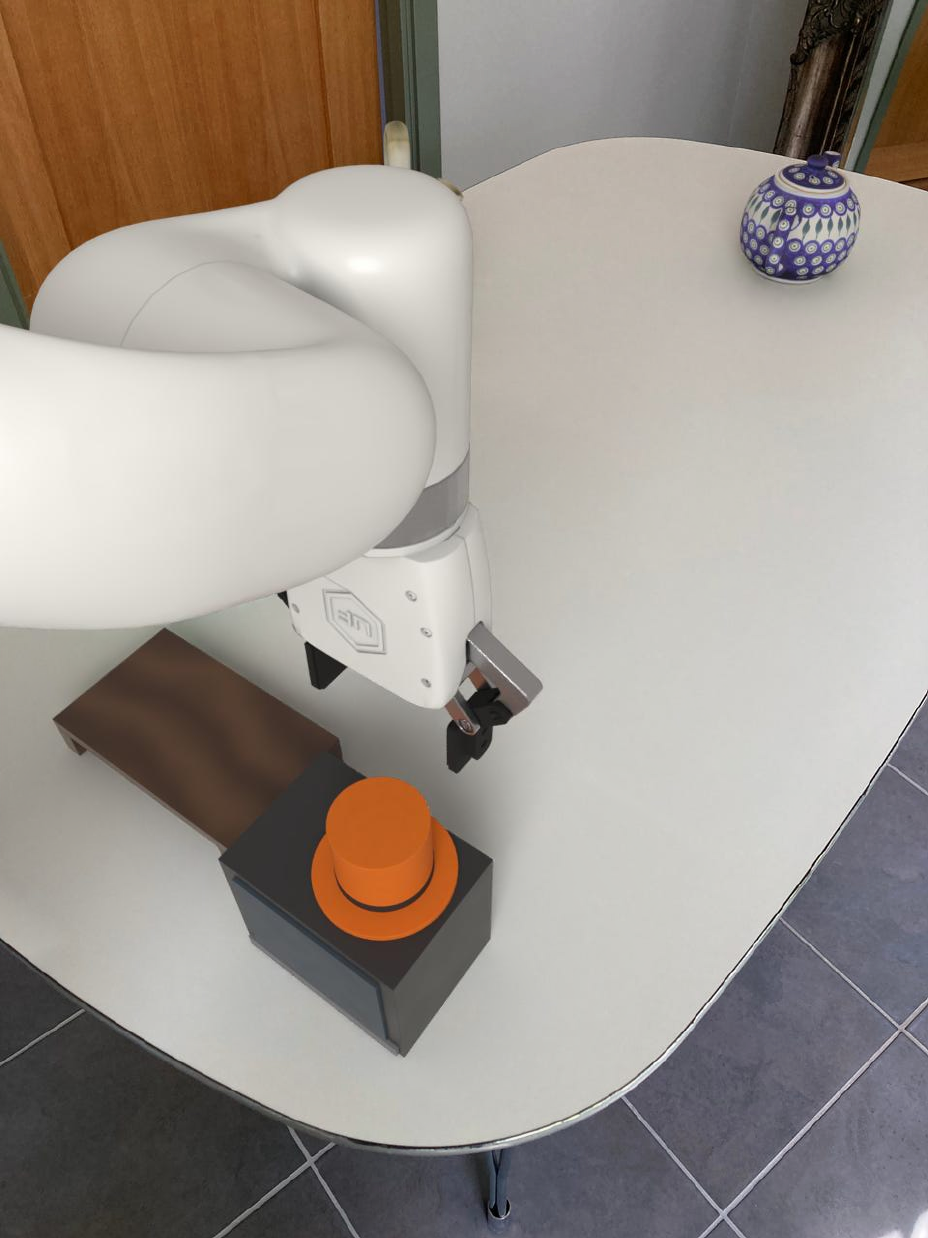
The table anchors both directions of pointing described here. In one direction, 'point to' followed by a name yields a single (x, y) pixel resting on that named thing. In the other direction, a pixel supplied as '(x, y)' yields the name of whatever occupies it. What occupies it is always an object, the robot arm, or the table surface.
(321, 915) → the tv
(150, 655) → the stand
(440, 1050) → the table surface
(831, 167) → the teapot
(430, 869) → the hat
